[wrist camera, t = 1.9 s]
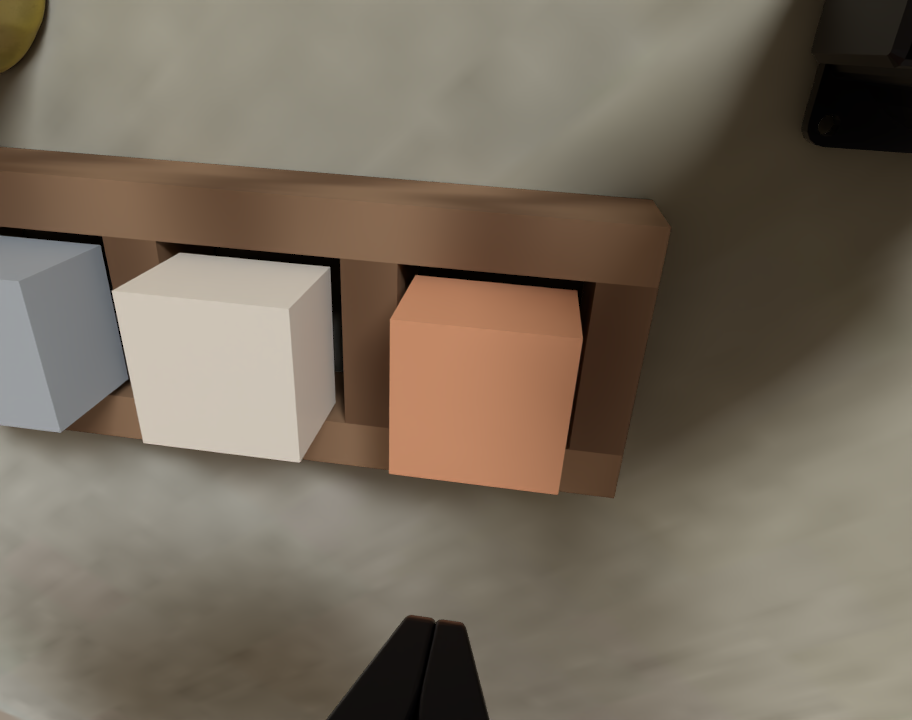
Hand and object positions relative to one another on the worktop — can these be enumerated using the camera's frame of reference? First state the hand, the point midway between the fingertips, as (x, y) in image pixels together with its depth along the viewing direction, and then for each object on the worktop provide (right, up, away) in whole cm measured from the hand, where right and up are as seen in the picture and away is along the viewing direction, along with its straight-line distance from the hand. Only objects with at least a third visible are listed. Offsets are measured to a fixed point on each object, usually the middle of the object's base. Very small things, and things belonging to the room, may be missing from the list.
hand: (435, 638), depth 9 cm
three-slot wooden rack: (-5, +6, +11) cm, 14 cm away
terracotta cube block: (+1, +4, +8) cm, 9 cm away
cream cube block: (-5, +5, +9) cm, 11 cm away
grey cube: (-12, +5, +9) cm, 16 cm away
